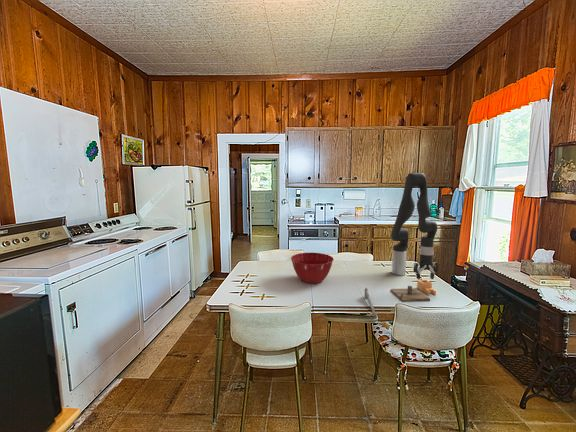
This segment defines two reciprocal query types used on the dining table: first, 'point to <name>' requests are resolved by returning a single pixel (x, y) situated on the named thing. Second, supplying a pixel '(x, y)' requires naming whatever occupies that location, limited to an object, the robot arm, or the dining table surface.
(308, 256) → the mixing bowl
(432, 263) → the robot arm
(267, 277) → the dining table surface
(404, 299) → the post board
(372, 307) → the caliper
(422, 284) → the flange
